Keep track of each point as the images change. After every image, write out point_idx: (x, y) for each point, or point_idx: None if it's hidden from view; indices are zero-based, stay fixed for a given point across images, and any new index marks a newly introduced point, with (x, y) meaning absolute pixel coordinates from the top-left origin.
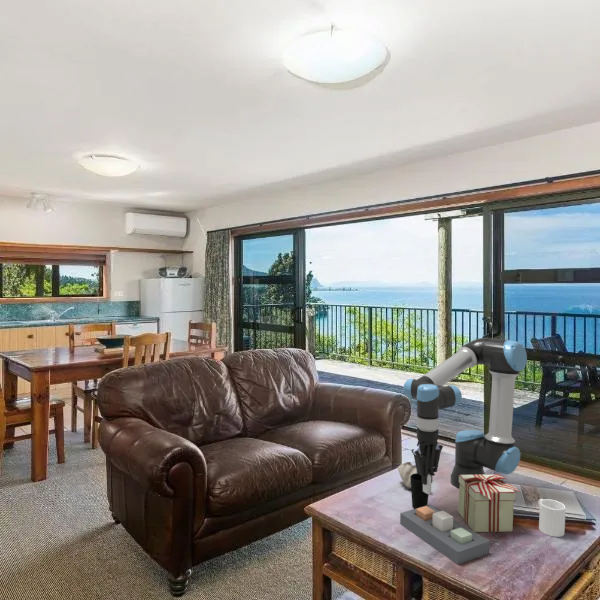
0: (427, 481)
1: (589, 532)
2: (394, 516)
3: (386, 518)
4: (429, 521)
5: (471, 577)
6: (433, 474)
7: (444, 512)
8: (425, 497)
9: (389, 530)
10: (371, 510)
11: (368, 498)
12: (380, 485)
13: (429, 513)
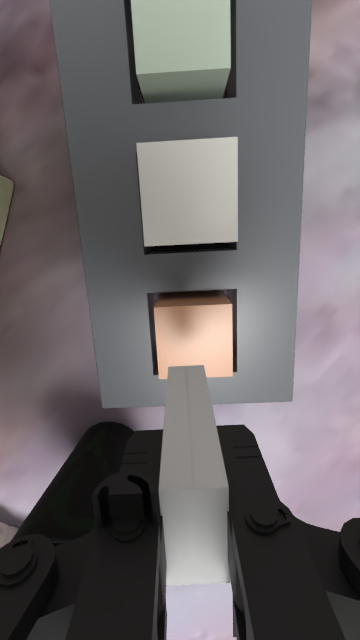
0: (219, 441)
1: None
2: (257, 430)
3: (297, 430)
4: (218, 275)
5: None
6: (129, 491)
7: (154, 219)
8: (90, 458)
9: (354, 352)
10: (308, 498)
11: None
12: None
13: (199, 305)
